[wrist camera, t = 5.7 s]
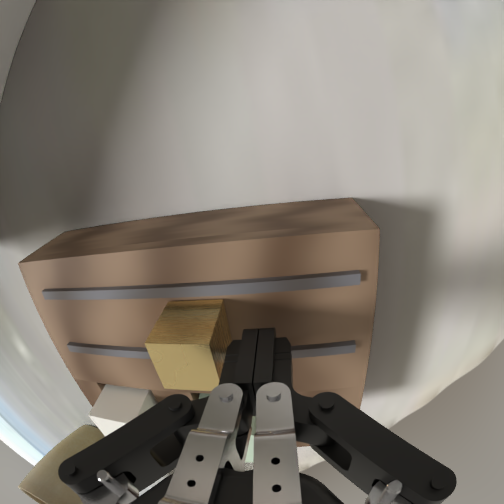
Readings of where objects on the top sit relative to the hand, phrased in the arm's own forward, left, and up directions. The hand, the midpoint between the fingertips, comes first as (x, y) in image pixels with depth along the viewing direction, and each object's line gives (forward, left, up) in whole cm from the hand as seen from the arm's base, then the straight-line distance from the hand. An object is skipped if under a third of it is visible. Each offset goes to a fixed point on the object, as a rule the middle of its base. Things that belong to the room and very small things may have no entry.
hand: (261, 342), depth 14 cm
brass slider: (+3, 0, -2) cm, 4 cm away
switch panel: (+5, +4, -8) cm, 10 cm away
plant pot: (+28, +27, -8) cm, 40 cm away
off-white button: (+11, +8, -4) cm, 14 cm away
